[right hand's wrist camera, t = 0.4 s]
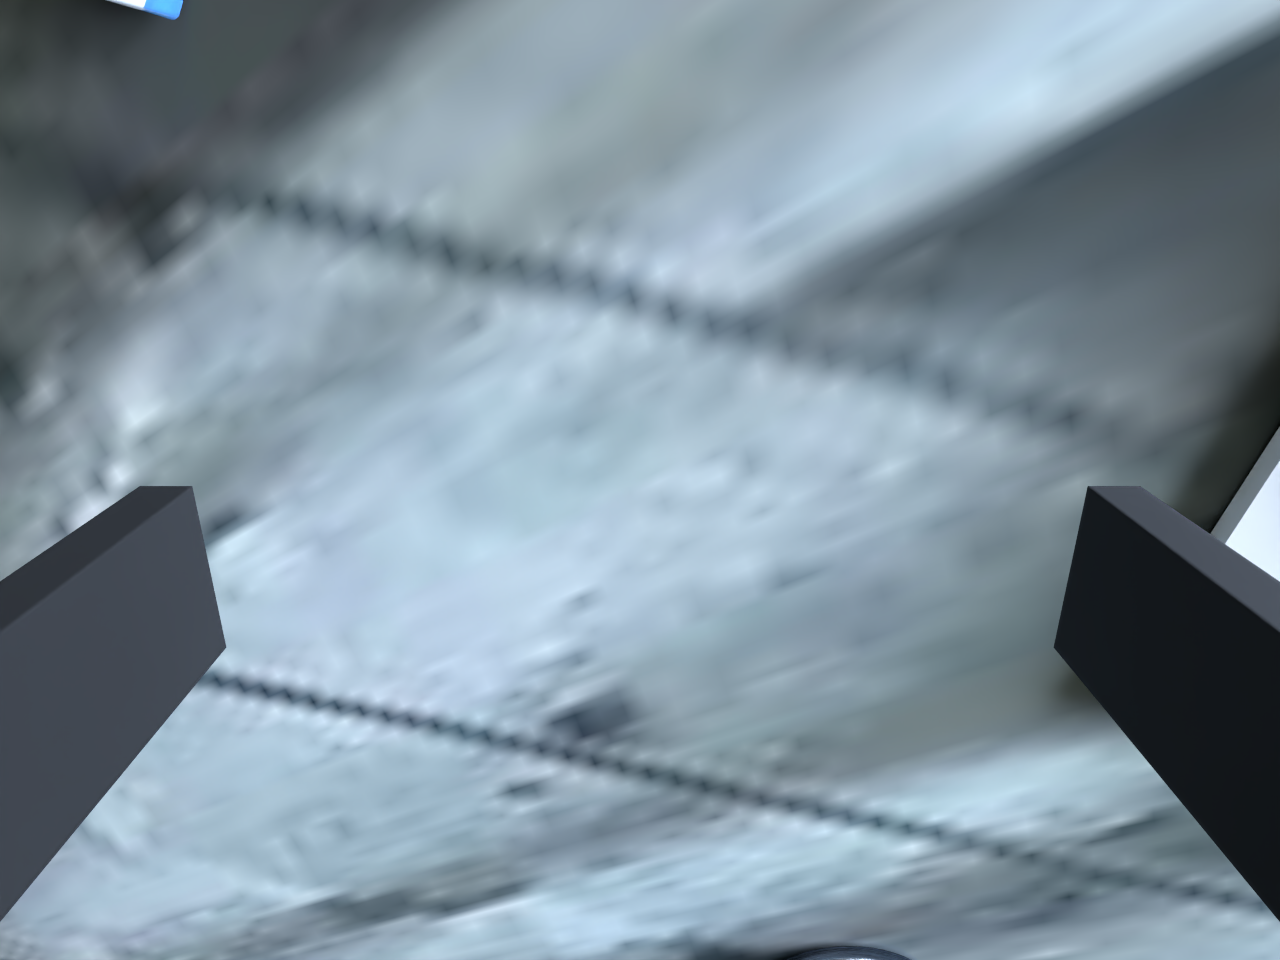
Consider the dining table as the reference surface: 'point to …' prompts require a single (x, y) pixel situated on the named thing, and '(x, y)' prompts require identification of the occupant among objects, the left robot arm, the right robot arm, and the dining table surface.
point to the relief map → (1256, 513)
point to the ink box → (155, 6)
